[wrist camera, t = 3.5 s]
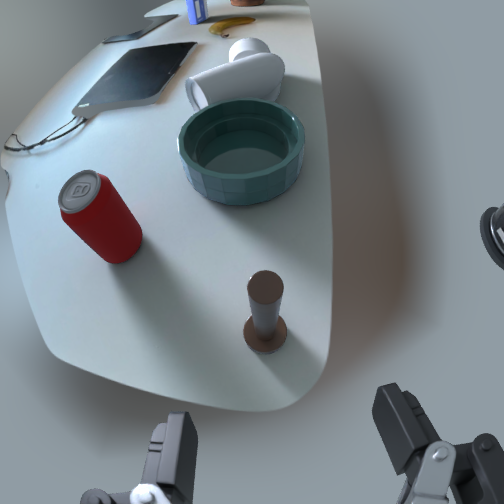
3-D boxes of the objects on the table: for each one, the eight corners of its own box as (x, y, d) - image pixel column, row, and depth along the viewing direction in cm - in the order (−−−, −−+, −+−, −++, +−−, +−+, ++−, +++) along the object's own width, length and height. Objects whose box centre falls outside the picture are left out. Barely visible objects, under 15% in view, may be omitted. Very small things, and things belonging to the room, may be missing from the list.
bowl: (299, 128, 44) (301, 99, 38) (301, 211, 37) (307, 182, 31) (198, 127, 45) (192, 99, 40) (176, 207, 38) (163, 179, 33)
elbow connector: (300, 116, 43) (279, 63, 52) (289, 63, 34) (268, 23, 43) (198, 143, 47) (201, 85, 55) (172, 98, 37) (183, 49, 46)
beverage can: (108, 221, 38) (67, 167, 27) (149, 221, 37) (114, 161, 26) (95, 264, 35) (44, 218, 24) (138, 267, 34) (91, 217, 23)
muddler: (286, 315, 31) (305, 252, 17) (284, 355, 29) (304, 328, 15) (246, 313, 31) (229, 248, 17) (243, 352, 30) (221, 323, 15)
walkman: (196, 24, 71) (192, -6, 60) (190, 24, 72) (184, -5, 61) (209, 17, 74) (205, -11, 63) (202, 17, 75) (198, -10, 64)
